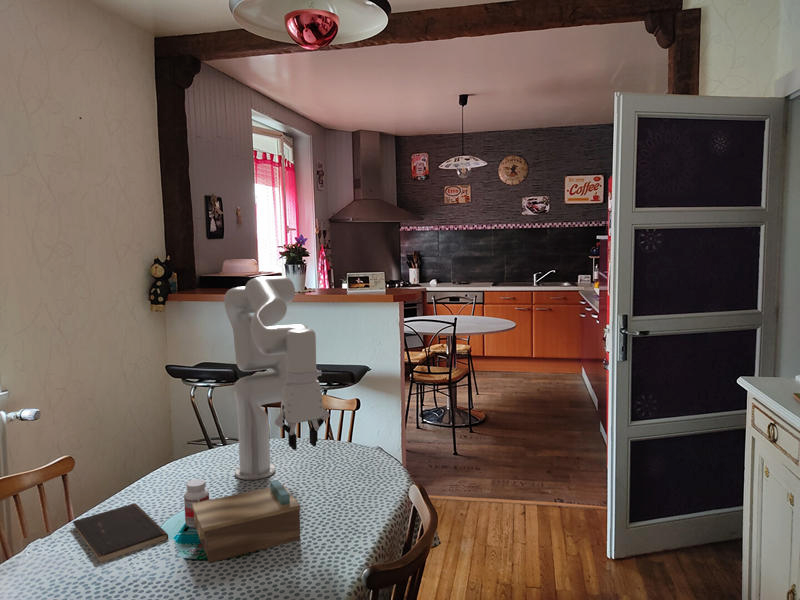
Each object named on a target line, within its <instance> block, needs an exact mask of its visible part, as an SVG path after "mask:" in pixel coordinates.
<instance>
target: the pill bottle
mask: <svg viewBox="0 0 800 600" xmlns="http://www.w3.org/2000/svg"><path fill="white" fill-rule="evenodd" d="M207 500H210V492H209V489H208V488H207V487H206V480H205V479H202V478H195V479H191V480H189V481H187V482H186V491H185V492H184V494H183V501H184V503H183V504H184V519H185V525H186V526H187V527H188V526H190V527H189V528H196V527H195V524H194V511H193V509H192V504H193V503H197V502H202V501H207Z"/></svg>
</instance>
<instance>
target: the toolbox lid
mask: <svg viewBox="0 0 800 600" xmlns="http://www.w3.org/2000/svg"><path fill="white" fill-rule="evenodd" d="M269 483H270V485H269V487H265V488H264V487H263V488H260V489H256V490H251V491H247V492H246V491H245V492H241V493H236V494H232V495H227V496H222V497H218V498H212V499H209V500H207V501H202V502H197V503H193V504H192V509H193V511H194V524H195V527H194V528H195V529H196V532H197V535H198V538H199V537H200V539H203V538H205V534H204V532H205V531H209V530H213V529H217V528H222V527H226V526H230V525H235V524H239V523H243V522H247V521H252V520H256V519H260V518H264V517H269V516H273V515H277V514H282V513H286V512H290V511H294V510H299V509H300V510H301V504H300V503H299V502H298V501H297V499H295V497H294V496H293V494H292V493H291V492H290V491H289V490H288V488H287V487H286V486H285V485H284V484H282V483H281V482H280V480H279V479H275V480H271V481H270V482H269ZM200 539H199V540H200Z"/></svg>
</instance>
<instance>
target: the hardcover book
mask: <svg viewBox="0 0 800 600" xmlns="http://www.w3.org/2000/svg"><path fill="white" fill-rule="evenodd" d="M72 523H73V525H74V528H75V530H76V531H77V533H78V534H79V535H80V536H81V538H82V539H83V541H84V543H86V545H87V546H88V547H89V549H90V550H91V551H92V553H93V554H94V556H95V557H96V558H97V560H98V561H99V562H100V563H103V562H105V561H108V560H111V559H114V558H117V557H120V556H123V555H126V554H128V553H129V554H130V553H132V552H134V551H137V550H140V549H143V548H145V547H148V546H151V545H154V544H157V543H161V542H163V541H165V540H169V534H168V533H167V531H165V530H164V529H163V528H162V527H161V526H160V525H159V524H158V523H157V522H156V521H155V520H154V519H153V518H152V517H150V516H149V515H148V514H147V512H146V511H144V510H143V509H142V507H140V506H139V505H138V504H137V503H135V502H134V503H130V504H127V505H124V506H121V507H118V508H114V509H110V510H107V511H103V512H100V513H97V514H93V515H90V516H87V517H82V518H79V519H76V520H73V521H72Z"/></svg>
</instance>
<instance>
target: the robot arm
mask: <svg viewBox="0 0 800 600" xmlns="http://www.w3.org/2000/svg"><path fill="white" fill-rule="evenodd" d="M295 296H296V288H295V284H294V282H293V281H292V280H291V279H290V278H289V277H287V276H285V275H273V276H257V277H254V278H250V280H248V281H247V282H246V284H245V285H244V286H236V287H232V288H230V289H228V290H227V291H226V293H225V295H224V308H225V313H226V315H227V318H228V320H229V323H230V325H231V328H232V334H233V344H234V345H233V346H234V354H235V361H236V366H237V367H238V369H239V370H240V371H242V372H256V371H257V372H258V371H264V370H271V372H270V373H263V374H262V373H261V374H252V375H246V376H243V377H241V378H239V379H238V380H237V381H235V383H234V385H233V386H234V387H233V393H234V399H235V404H236V411H237V426H238V452H239V453H238V456H239V466H238V467H236V469H235V470H234V475H235V476H236V478H238V479H240V480H246V481H253V480H254V481H255V480H261V479H265V478H268V477H270V476H271V475H272V476H273V474H275V472H276V466H275V464H273V463H271V449H270V448H271V446H270V420H269V416H268V414H267V412H266V411H264V409H263V408H261V406H264V405H267V404H275V403H280V413H279V414H278V415H277V418H276V419H275V421H274V424H275V425H276V426H277V427H279V428H280V429H283V430H284V431H285V432H286V433H287V434H288V435H287V438H288V439H287V440H288V446H289V447H290V448H291V449H292V450H293V451H296V450H297V449H298V447H297V434H296V427H297V424H298V423H305V422H309V425H310V428H309V430H308V431H309V433H308V434H309V444H310V445H311V446H312V447H316V446H317V442H318V439H319V438H318V431H319V430H320V428H321V426H322V425H323V424H324V422H326V420H327V419H328V418H330V413H329V412H328V411H327V410H326V408H325V407H324V404H323V395H322V389H321V385H320V381H319V380H318V378H319V376H320V377H321V376H322V375H323V374H322V370H318V369H317V339H316V338H317V337H316V332H315V330H313V329H312V328H308V326H306V325H305V324H301V323H295V324H281V325H277V324H278V323H280V322H281V321H282V320H283V319H284V317H285V316H286V314H287V310H288V309H287V308H288V306H290V304H291V303H293V301H294V298H295ZM252 314H253V315H252ZM275 324H276V325H275ZM284 420H285V422H286V423H287V424H286V423H284V422H283V421H284Z"/></svg>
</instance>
